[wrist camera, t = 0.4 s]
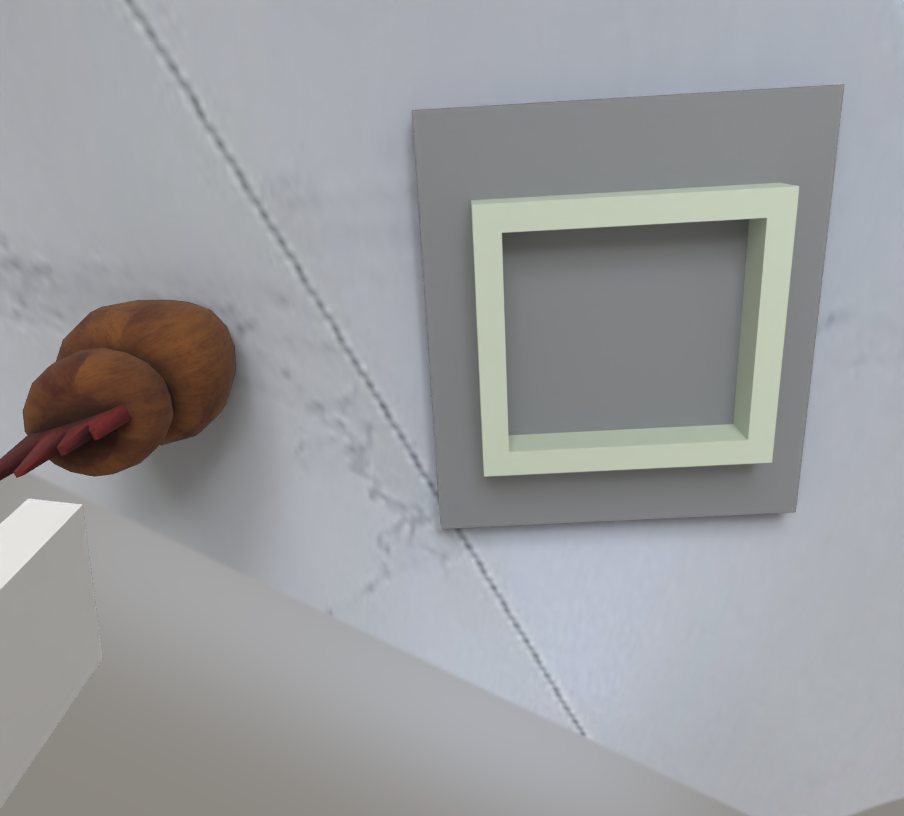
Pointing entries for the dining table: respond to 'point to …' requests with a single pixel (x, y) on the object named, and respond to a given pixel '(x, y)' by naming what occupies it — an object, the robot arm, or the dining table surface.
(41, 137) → the dining table surface
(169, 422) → the wooden figurine
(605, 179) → the jig plate
